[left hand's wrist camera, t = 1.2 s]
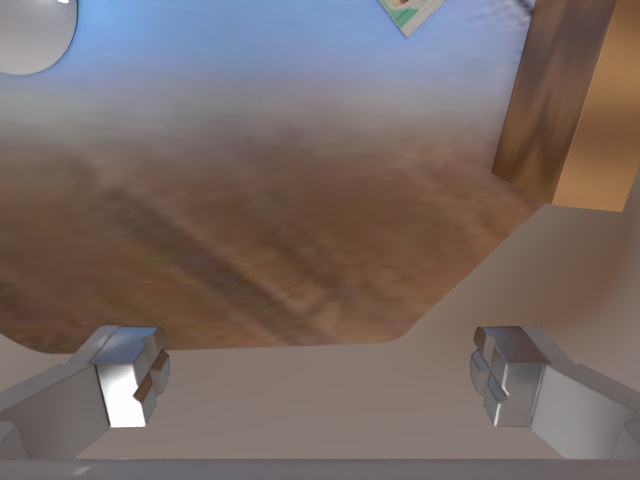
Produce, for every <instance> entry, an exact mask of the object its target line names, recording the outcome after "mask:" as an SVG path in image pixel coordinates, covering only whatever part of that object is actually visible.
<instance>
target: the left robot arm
mask: <svg viewBox="0 0 640 480" xmlns="http://www.w3.org/2000/svg"><path fill="white" fill-rule="evenodd" d="M76 20H77V0H0V72H1V73H6V74H12V75H27V74H33V73H37V72H40V71H42V70H45V69H47V68H48V67H50V66H52V65H53V64H54V63H56V62H57V61H58V60H59V59H60V58H61V57H62V55H63V54H64V53H65V51H66V50H67V48H68V47H69V45H70V43H71V40H72V38H73V35H74V31H75V27H76ZM165 342H166V336H165V331H164V329H163V328H162V327H161V326H121V325H113V326H101V327H99V328H98V329H97V330H96V331H95V332H94V333H93V335H92V336H91V337H90V338H89V339H88V340H87V341H86V342H85V343H84V344H83V345H82V347H81V348H80V349H79V350H78V351H77V352H76V353H75V354H74V355H73V356H72V357H71V358H70V360H69V361H68V362H67V363H66V364H58V365H56V366H54V367H52V368H50V369H48V370H46V371H43V372H41V373H39V374H37V375H35V376H33V377H31V378H29V379H27V380H25V381H23V382H21V383H18V384H16V385H14V386H12V387H10V388H8V389H6V390H4V391H2V392H0V480H640V392H638V391H636V390H634V389H632V388H630V387H628V386H626V385H624V384H621V383H619V382H617V381H615V380H613V379H611V378H609V377H607V376H605V375H603V374H601V373H599V372H597V371H594V370H592V369H590V368H588V367H586V366H584V365H582V364H574V363H573V362H572V361H571V360H570V358H568V356H567V355H566V354H565V353H564V352H563V351H562V350H561V349H560V348H559V346H558V345H557V344H556V343H555V342H554V341H553V340H552V339H551V338H550V337H549V336H548V335H547V333H546V332H545V331H544V330H543V329H542V328H541V327H539V326H536V325H528V326H500V327H477V329H476V331H475V336H474V342H475V344H476V346H477V347H478V349H477V350H476V351H475V352H474V353H473V354H472V355H471V361H470V373H471V379H472V383H473V386H474V388H475V390H476V392H477V393H479V394H480V395H482V396H483V397H484V398H485V399H484V407H485V409H486V411H487V413H488V415H489V417H490V419H491V421H492V423H493V425H494V426H501V427H530V429H531V430H532V431H533V432H534V433H536V434H537V435H538V436H539V437H541V438H542V439H543V440H544V441H545V442H547V443H548V444H549V445H550V446H552V447H553V448H554V449H555V450H556V451H558V452H559V453H560V454H561V455H563V456H564V457H565V458H566V459H74V458H75V457H76V456H78V455H79V454H80V453H81V452H83V451H84V450H85V449H86V448H87V447H89V446H90V445H91V444H92V443H94V442H95V441H96V440H97V439H98V438H100V437H101V436H102V435H103V434H104V433H106V432H107V431H108V430H109V429H110V427H138V426H146V425H147V423H148V421H149V419H150V417H151V415H152V413H153V411H154V409H155V407H156V399H155V398H156V397H157V396H158V395H160V394H161V393H163V392H164V390H165V388H166V385H167V383H168V379H169V374H170V360H169V355H168V354H167V353H166V352H165V351H164V350H163V349H162V347H163V346H164V344H165Z"/></svg>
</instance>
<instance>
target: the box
mask: <svg viewBox="0 0 640 480" xmlns="http://www.w3.org/2000/svg"><path fill="white" fill-rule="evenodd" d="M639 167H640V0H536V3H535V7H534V11H533V15H532V19H531V23H530V26H529V30H528V34H527V38H526V42H525V46H524V50H523V54H522V57H521V61H520V65H519V69H518V73H517V77H516V81H515V85H514V88H513V92H512V96H511V100H510V104H509V108H508V112H507V116H506V119H505V123H504V127H503V131H502V135H501V139H500V143H499V146H498V150H497V154H496V158H495V162H494V166H493V170H492V174H494V175H496V176H498V177H500V178H502V179H503V180H505V181H507V182H509V183H511V184H513V185H515V186H517V187H519V188H520V189H522V190H524V191H526V192H528V193H530V194H532V195H534V196H536V197H538V198H539V199H541V200H543V201H545V202H547V203H549V204H551V205H557V206H567V207H577V208H587V209H598V210H608V211H618V212H622V210H623V208H624V205H625V203H626V200H627V198H628V195H629V192H630V190H631V187H632V185H633V182H634V180H635V177H636V175H637V172H638V169H639Z"/></svg>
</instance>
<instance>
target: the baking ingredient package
mask: <svg viewBox="0 0 640 480" xmlns="http://www.w3.org/2000/svg"><path fill="white" fill-rule="evenodd" d="M378 1H379V2H380V3H381V4H382V6H383V7H384V8H385V10H386V11H387V12H388V14H389V15H390V16H391V17H392V19H393V20H394V21H395V23H396V24H397V25H398V27H399V28H400V29H401V31H402V32H403V33H404V34H405V36H406V37H408V36H409V35H410V34H411V33H412V32H414V31H415V30H416V29H417V28H418V27H419V26H420V25H421V24H422V23H423V22H424V21H425V20H426V19H427V18H428V17H429V16H430V15H431V14H432V13H433V12H434V11H435V10H436V9H437V8H438V7H439V6H440V5H441V4H442V3H444V2H445V1H446V0H378Z"/></svg>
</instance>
